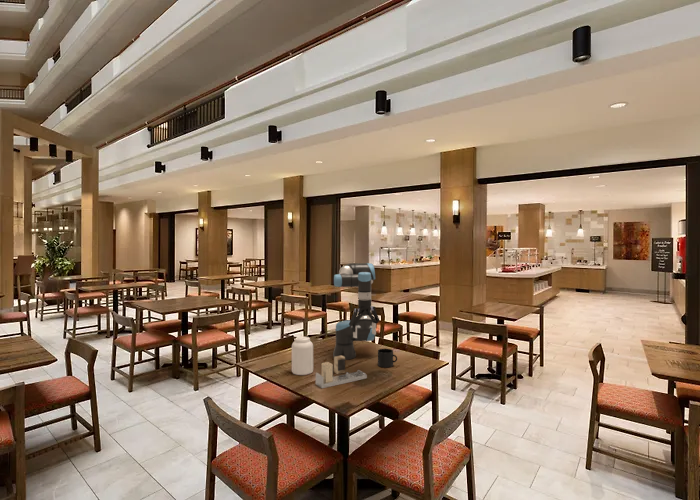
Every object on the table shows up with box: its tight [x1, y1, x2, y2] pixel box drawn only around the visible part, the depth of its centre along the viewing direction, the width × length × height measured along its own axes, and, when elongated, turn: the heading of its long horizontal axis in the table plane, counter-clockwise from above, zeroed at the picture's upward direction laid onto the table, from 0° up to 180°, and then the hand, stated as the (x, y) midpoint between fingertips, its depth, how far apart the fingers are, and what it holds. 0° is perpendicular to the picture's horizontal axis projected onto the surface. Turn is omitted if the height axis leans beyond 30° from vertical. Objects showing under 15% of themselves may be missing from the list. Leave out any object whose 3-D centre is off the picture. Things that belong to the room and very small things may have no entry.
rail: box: [315, 361, 368, 389], centre depth 202 cm, size 7×28×11 cm, turn 121°
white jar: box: [291, 336, 314, 376], centre depth 217 cm, size 12×12×20 cm
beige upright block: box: [333, 355, 346, 375], centre depth 216 cm, size 5×5×9 cm
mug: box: [377, 348, 398, 369], centre depth 228 cm, size 9×12×9 cm
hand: (364, 335), depth 215 cm, fingers open, 13 cm apart
